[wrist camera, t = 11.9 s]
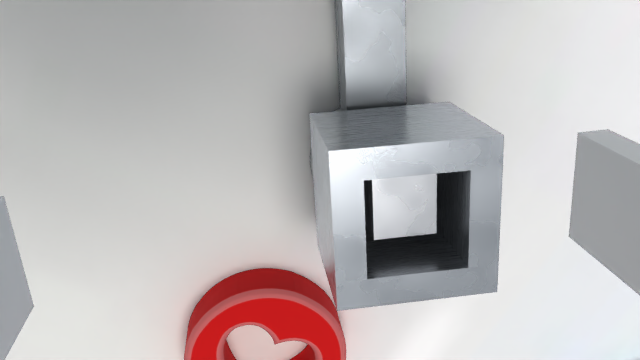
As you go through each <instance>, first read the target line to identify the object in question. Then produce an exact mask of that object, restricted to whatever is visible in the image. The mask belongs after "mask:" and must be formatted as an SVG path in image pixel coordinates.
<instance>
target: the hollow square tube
mask: <svg viewBox="0 0 640 360" xmlns="http://www.w3.org/2000/svg"><path fill="white" fill-rule="evenodd" d="M309 116H310V131H311V147H312V163H313V179H314V195H315V210H316V226H317V242H318V247H319V251H320V254H321V258H322V261H323V264H324V268H325V271H326V275H327V278H328V281H329V285H330V288H331V291H332V295H333V298H334V302H335V305H336V308H337V311H339V310H348V309H356V308H365V307H373V306H382V305H390V304H399V303H407V302H416V301H424V300H432V299H441V298H449V297H458V296H466V295H475V294H483V293H492V292H497V284H498V261H499V239H500V216H501V194H502V171H503V149H504V135H503V134H501V133H500V132H498V131H496V130H495V129H493V128H491V127H490V126H488V125H487V124H485V123H483V122H482V121H480V120H478V119H477V118H475V117H473V116H472V115H470V114H469V113H467V112H465V111H464V110H462V109H460V108H459V107H457V106H456V105H454V104H452V103H451V102H440V103H428V104H416V105H404V106H392V107H380V108H369V109H357V110H345V111H333V112H321V113H309ZM427 174H437V219H436V233H434V234H425V235H416V236H406V237H397V238H388V239H379V240H374V239H373V237H372V235H371V233H370V231H369V229H368V227H367V225H366V223H365V202H364V181H365V180H375V179H385V178H396V177H406V176H416V175H427Z"/></svg>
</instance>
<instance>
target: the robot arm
mask: <svg viewBox="0 0 640 360" xmlns="http://www.w3.org/2000/svg"><path fill="white" fill-rule="evenodd" d="M569 237H570V238H571V239H572V240H574V241H575V242H576V243H577V244H578V245H580V246H581V247H582V248H583V249H584V250H586V251H587V252H588V253H589V254H590V255H592V256H593V257H594V258H595V259H596V260H598V261H599V262H600V263H601V264H603V265H604V266H605V267H606V268H607V269H609V270H610V271H611V272H612V273H613V274H615V275H616V276H617V277H618V278H619V279H621V280H622V281H623V282H624V283H625V284H627V285H628V286H629V287H630V288H632V289H633V290H634V291H635V292H636V293H638V294H639V295H640V144H638V143H636V142H634V141H632V140H630V139H627V138H625V137H623V136H621V135H619V134H617V133H614V132H612V131H610V130H608V129H607V130H598V131H589V132H580V133H578V137H577V148H576V160H575V171H574V183H573V194H572V206H571V217H570V229H569ZM33 307H34V305H33V301H32V298H31V294H30V290H29V287H28V283H27V279H26V276H25V272H24V268H23V265H22V261H21V257H20V254H19V250H18V246H17V242H16V239H15V235H14V231H13V228H12V224H11V220H10V217H9V213H8V209H7V206H6V202H5V198H4V196H2V197H0V360H5V358H6V356H7V354H8V353H9V351H10V349H11V347H12V345H13V343H14V342H15V340H16V338H17V336H18V334H19V332H20V331H21V329H22V327H23V325H24V323H25V321H26V320H27V318H28V316H29V314H30V312H31V310H32V309H33Z"/></svg>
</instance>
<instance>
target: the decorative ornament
mask: <svg viewBox="0 0 640 360" xmlns="http://www.w3.org/2000/svg"><path fill="white" fill-rule="evenodd" d="M243 325H256V326H259V327H261V328H263V329H264V330H266V331H267V332H268V333H269V334H270V335H271V337H272V338H273V340H274V344H278V343H281V342H285V341H293V340H295V341H302V342H305V343H307V344H308V345H307V346H306V348H305V349H304V350H303V351H302V352H300V353H299V354H298V355H296V356H295V357H293V358H292V359H290V360H346V344H345V338H344V335H343V331H342V328H341V325H340V321H339V318H338V314H337V311H336V309H335V306H334V304H333V302H332V301H331V299H330V298H329V296H328V295H327V294H326V293H325V292H324V291H323V290H322V289H321V288H320V287H319V286H318V285H316V284H315V283H313V282H312V281H310V280H309V279H307V278H305V277H303V276H301V275H299V274H296V273H294V272H291V271H287V270H281V269H272V268H262V269H253V270H248V271H243V272H240V273H237V274H235V275H232V276H230V277H228V278H226V279H224V280H222V281H221V282H219V283H218V284H216V285H215V286H214V287H212V288H211V289H210V290H209V291H208V292H207V293H206V294H205V295H204V296H203V297H202V299H201V300H200V301H199V302H198V304H197V305H196V307H195V309H194V310H193V313H192V315H191V318H190V321H189V325H188V332H187V339H186V347H185V354H184V360H236V359H235V357H234V356H233V354H232V352H231V350H230V348H229V346H228V343H227V341H226V338H227V336H228V335H229V333H230V332H231V331H232V330H234V329H235V328H237V327H240V326H243Z"/></svg>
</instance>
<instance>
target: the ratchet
mask: <svg viewBox="0 0 640 360" xmlns="http://www.w3.org/2000/svg"><path fill="white" fill-rule="evenodd" d="M335 11H336V32H337V53H338V74H339V95H340V108H338V109H337V110H336V111H345V110H357V109H369V108H380V107H392V106H404V105H406V21H405V0H335ZM310 166H311V172H312V175H313V163H312V147H311V153H310ZM364 202H365V223H366V225H367V227H368V229H369V231H370V233H371V235H372V237H373V239H374V240H379V239H388V238H397V237H406V236H416V235H425V234H434V233H436V219H437V174H427V175H416V176H406V177H396V178H385V179H375V180H365V181H364Z"/></svg>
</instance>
